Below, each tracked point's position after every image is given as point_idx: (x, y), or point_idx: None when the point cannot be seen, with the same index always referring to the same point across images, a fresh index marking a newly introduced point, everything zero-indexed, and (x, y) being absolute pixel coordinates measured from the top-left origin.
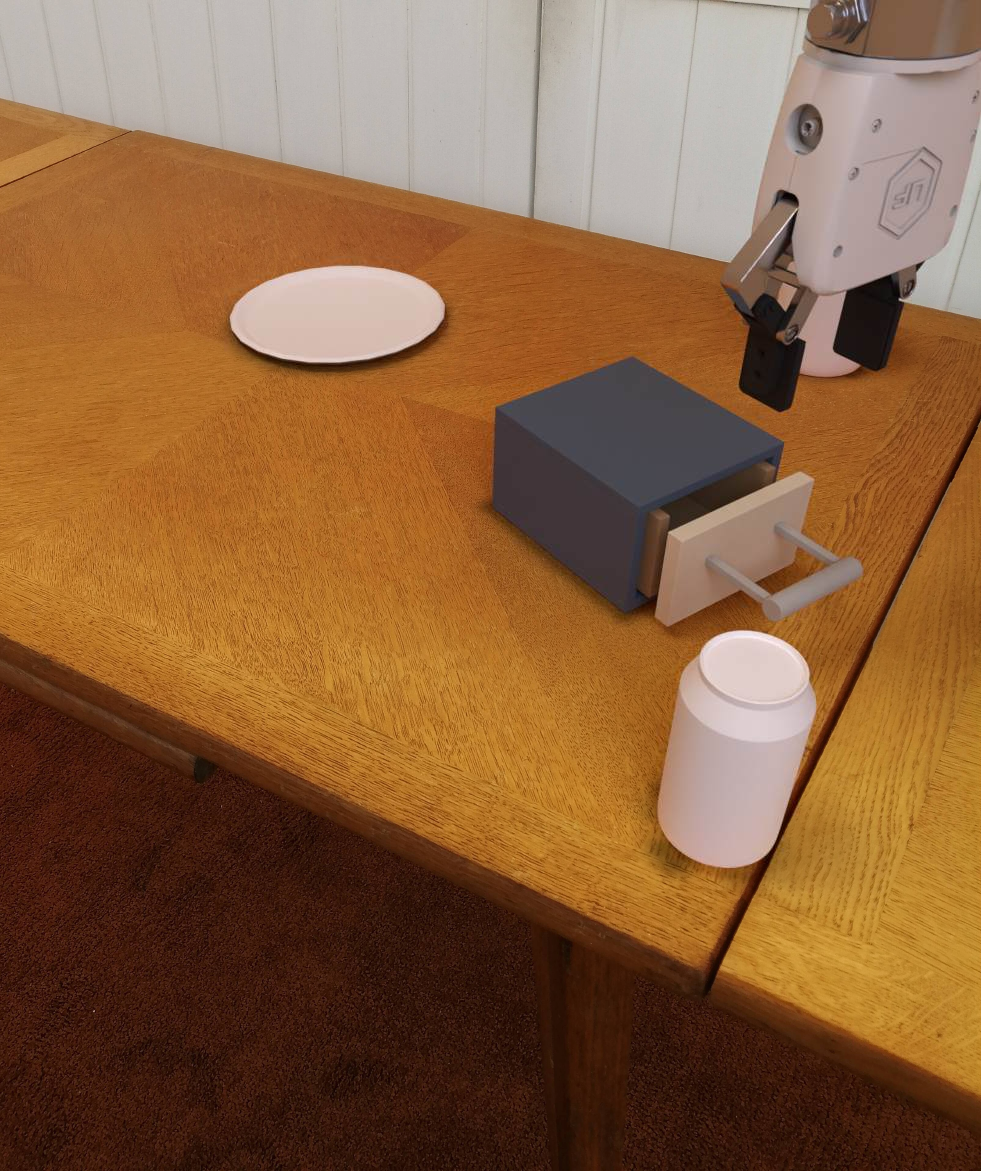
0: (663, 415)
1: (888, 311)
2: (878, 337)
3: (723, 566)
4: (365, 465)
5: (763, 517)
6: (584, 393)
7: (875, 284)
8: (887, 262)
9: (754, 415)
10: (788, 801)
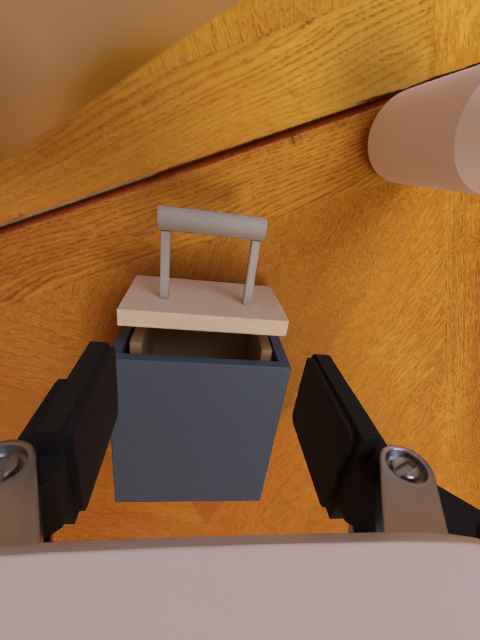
0: (166, 438)
1: (79, 428)
2: (99, 389)
3: (250, 289)
4: (272, 488)
5: (185, 306)
6: (193, 484)
7: (56, 505)
8: (278, 611)
9: (2, 410)
10: (430, 81)
